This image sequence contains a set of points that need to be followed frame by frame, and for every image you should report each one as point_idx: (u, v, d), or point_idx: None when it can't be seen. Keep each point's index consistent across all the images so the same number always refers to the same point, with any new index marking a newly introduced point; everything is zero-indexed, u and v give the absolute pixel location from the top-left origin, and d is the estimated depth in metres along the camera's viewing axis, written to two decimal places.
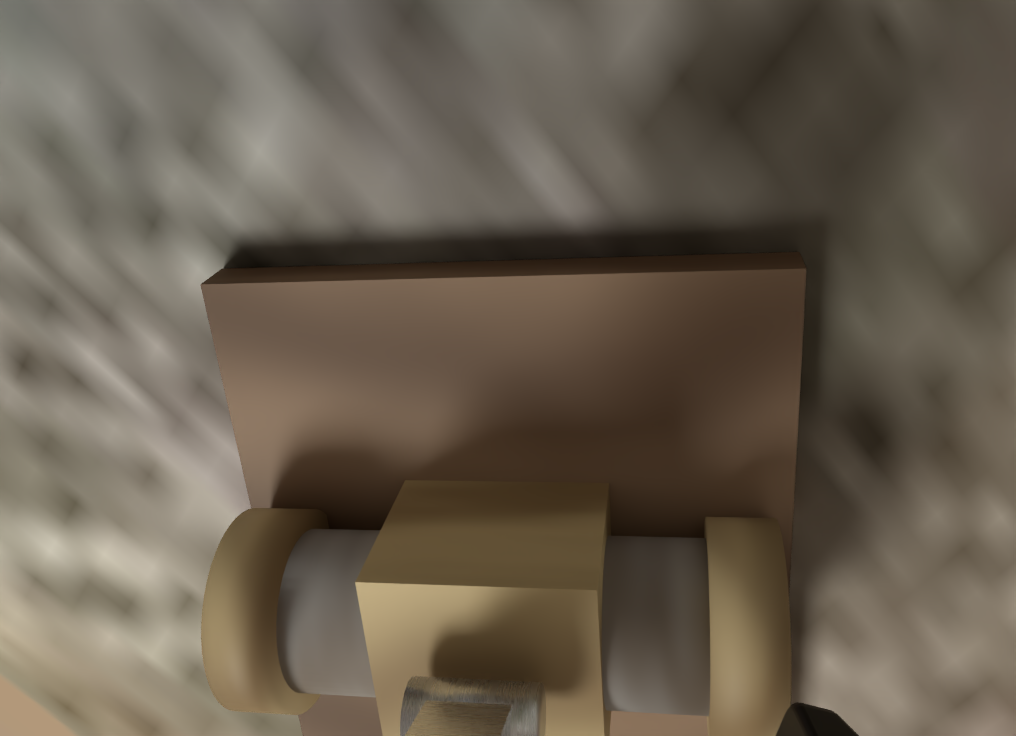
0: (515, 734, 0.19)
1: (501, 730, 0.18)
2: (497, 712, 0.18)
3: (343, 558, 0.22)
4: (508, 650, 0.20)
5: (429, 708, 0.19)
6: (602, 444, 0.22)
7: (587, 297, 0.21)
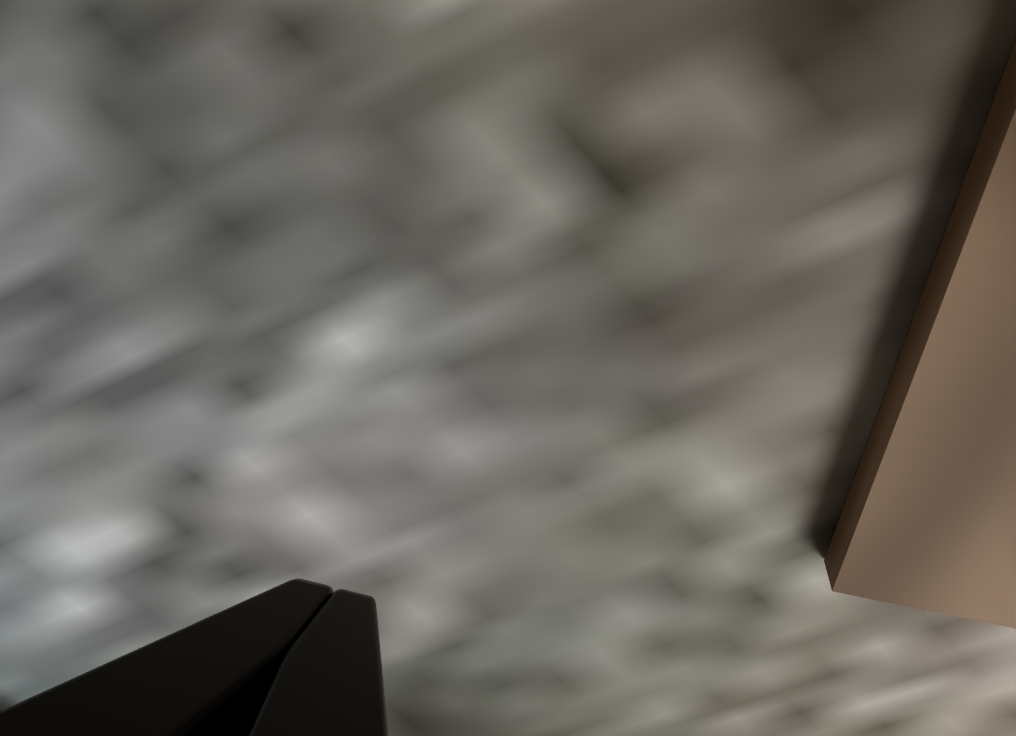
0: None
1: None
2: None
3: None
4: None
5: None
6: None
7: (1001, 225, 0.18)
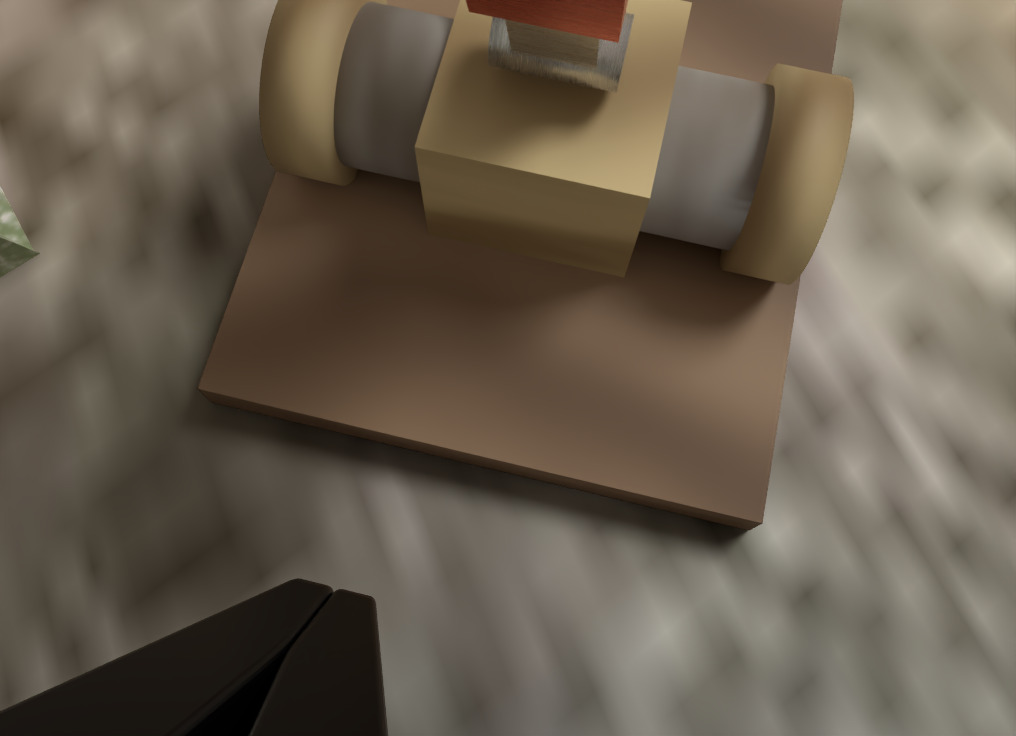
0: None
1: (509, 34, 0.18)
2: (520, 48, 0.19)
3: (683, 218, 0.22)
4: (522, 100, 0.20)
5: (588, 62, 0.19)
6: (422, 271, 0.24)
7: (388, 411, 0.23)
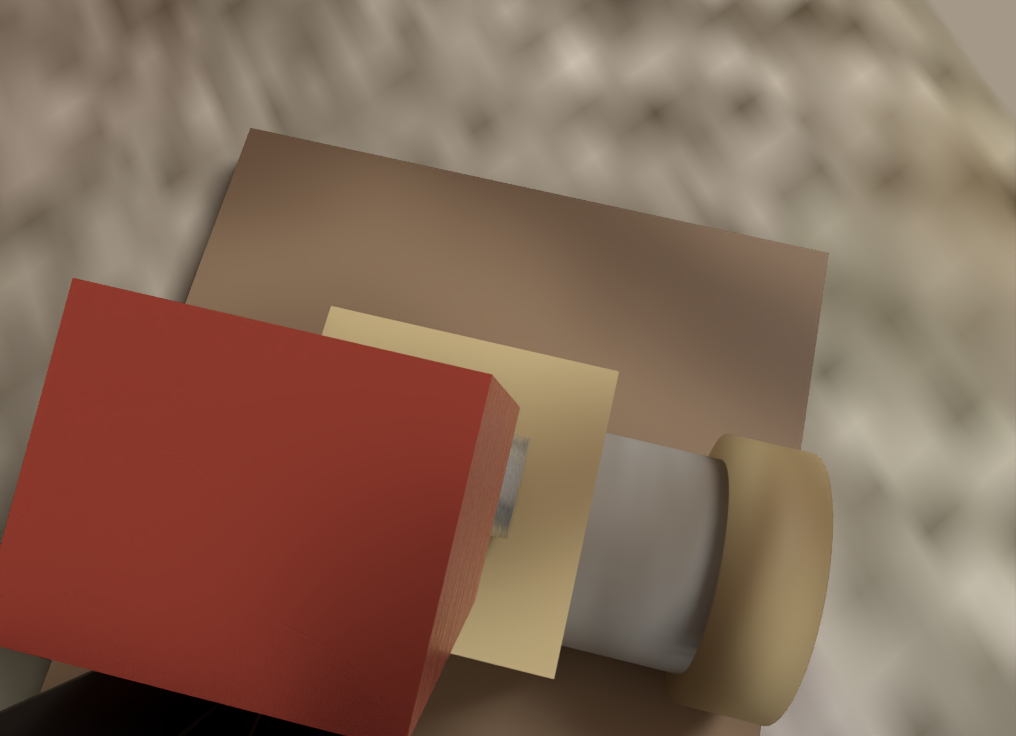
0: None
1: None
2: None
3: (608, 652, 0.16)
4: None
5: None
6: None
7: None
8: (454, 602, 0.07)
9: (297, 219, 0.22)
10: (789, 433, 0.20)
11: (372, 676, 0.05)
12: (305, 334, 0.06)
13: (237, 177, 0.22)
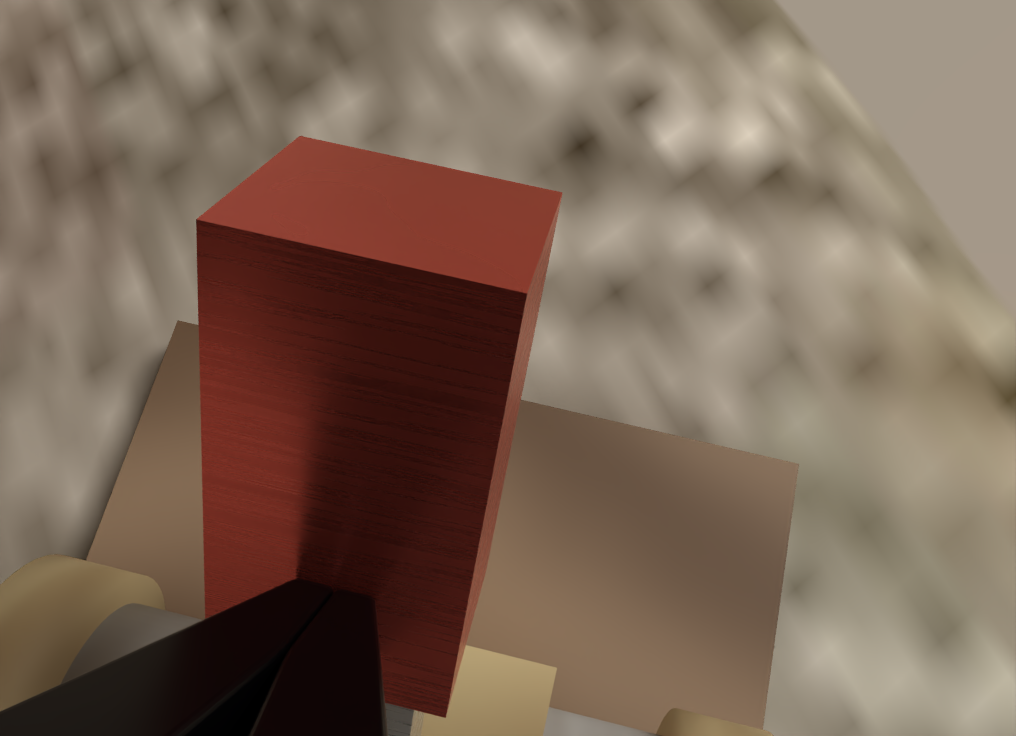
0: None
1: None
2: None
3: None
4: None
5: None
6: None
7: None
8: (510, 403, 0.08)
9: None
10: (755, 675, 0.18)
11: (499, 266, 0.07)
12: (445, 170, 0.09)
13: (161, 377, 0.20)
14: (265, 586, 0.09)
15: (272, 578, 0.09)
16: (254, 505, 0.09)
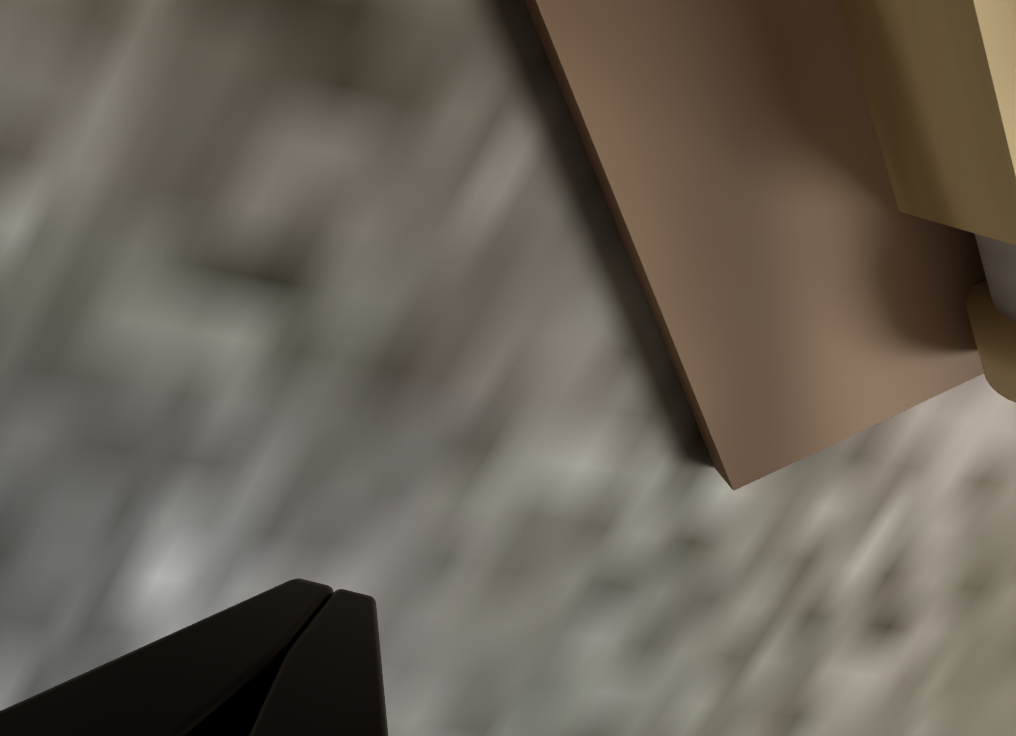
0: None
1: None
2: None
3: (1015, 262, 0.17)
4: None
5: None
6: None
7: (602, 90, 0.18)
8: None
9: None
10: None
11: None
12: None
13: None
14: None
15: None
16: None
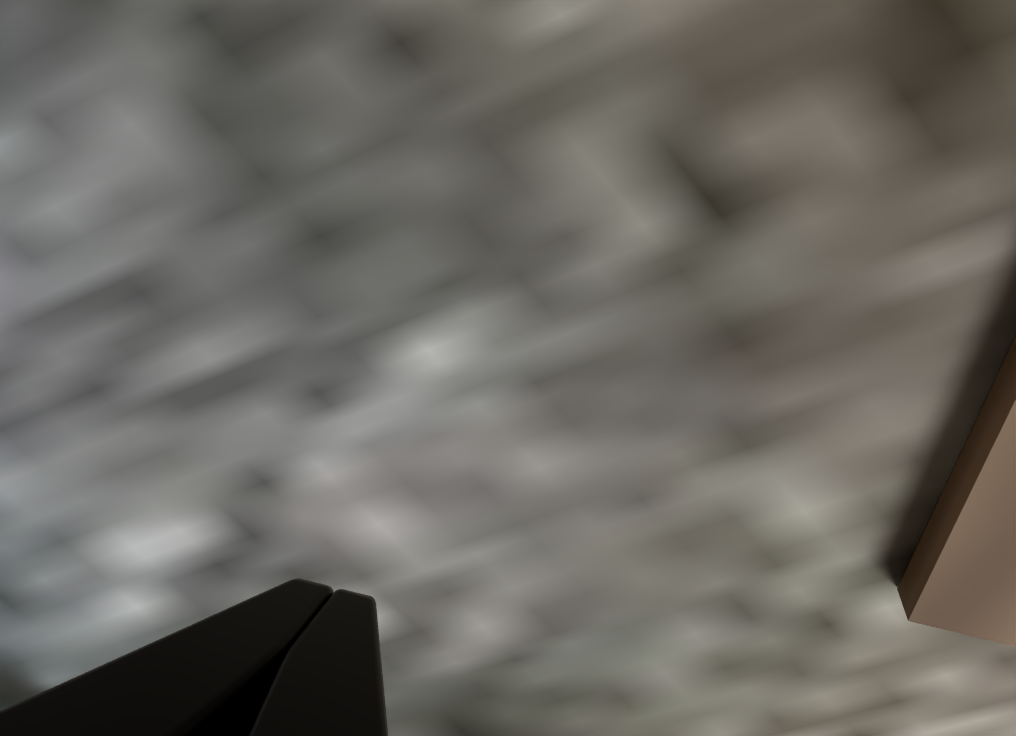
0: None
1: None
2: None
3: None
4: None
5: None
6: None
7: None
8: None
9: None
10: None
11: None
12: None
13: None
14: None
15: None
16: None
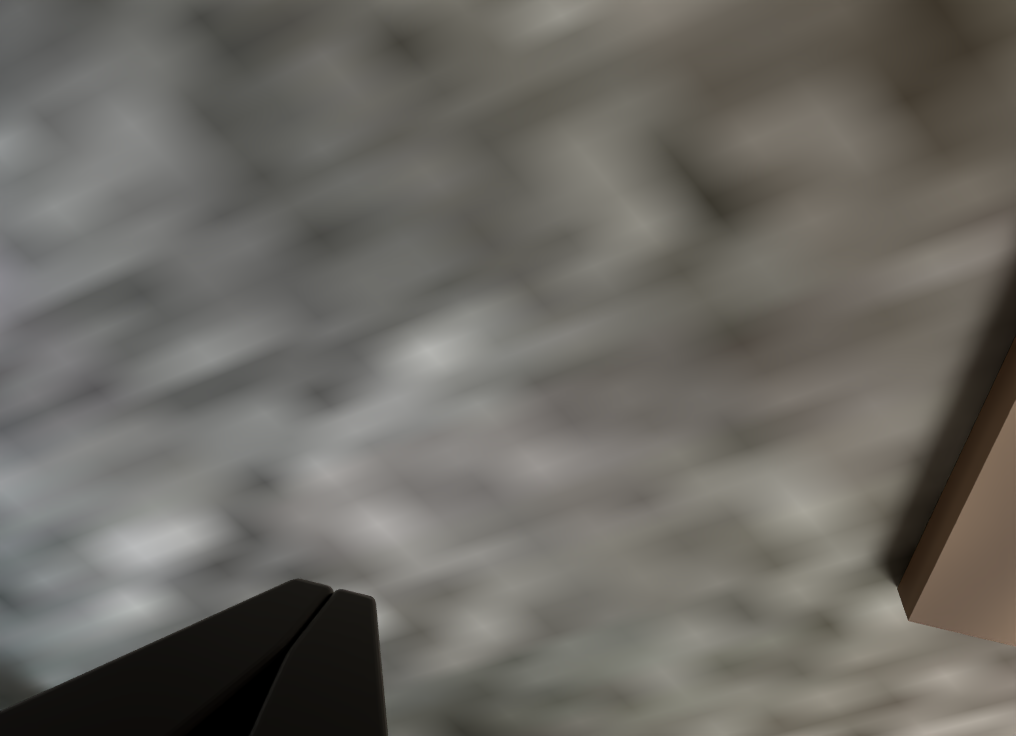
0: None
1: None
2: None
3: None
4: None
5: None
6: None
7: None
8: None
9: None
10: None
11: None
12: None
13: None
14: None
15: None
16: None
